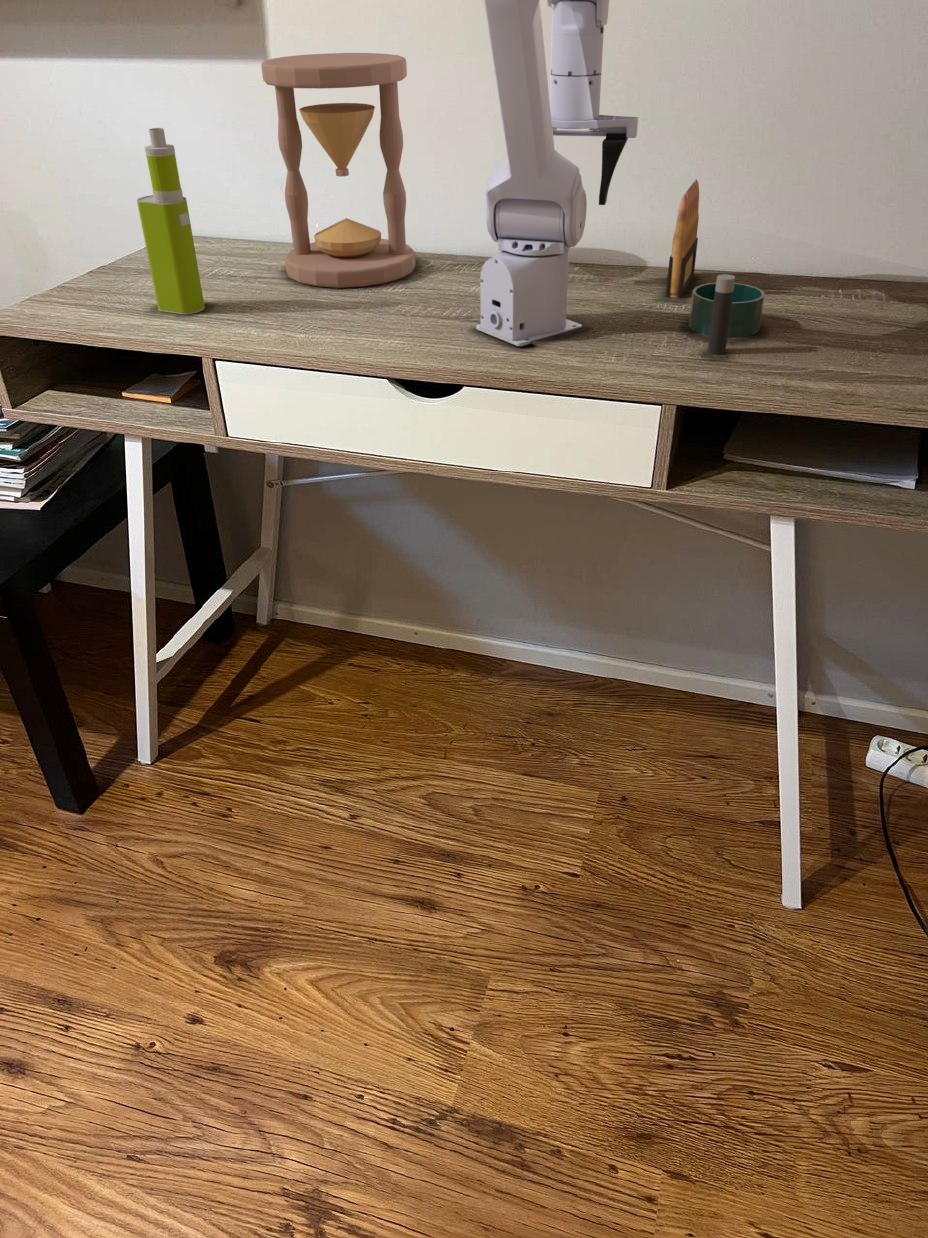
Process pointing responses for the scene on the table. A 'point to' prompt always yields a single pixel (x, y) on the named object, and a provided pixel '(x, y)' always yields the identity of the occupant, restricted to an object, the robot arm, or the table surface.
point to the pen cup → (742, 310)
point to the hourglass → (342, 167)
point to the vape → (169, 233)
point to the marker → (721, 314)
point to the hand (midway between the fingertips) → (570, 202)
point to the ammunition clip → (684, 243)
